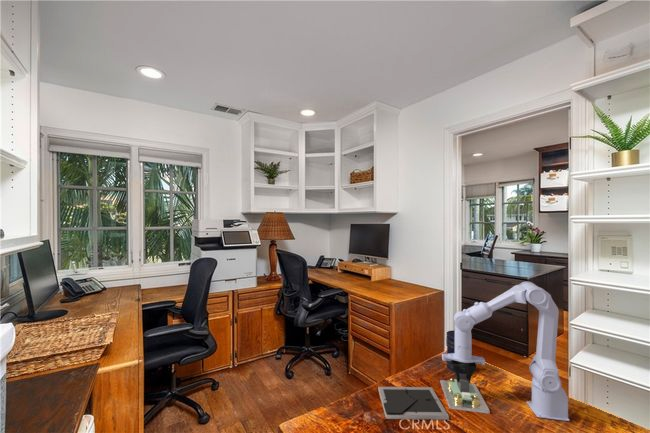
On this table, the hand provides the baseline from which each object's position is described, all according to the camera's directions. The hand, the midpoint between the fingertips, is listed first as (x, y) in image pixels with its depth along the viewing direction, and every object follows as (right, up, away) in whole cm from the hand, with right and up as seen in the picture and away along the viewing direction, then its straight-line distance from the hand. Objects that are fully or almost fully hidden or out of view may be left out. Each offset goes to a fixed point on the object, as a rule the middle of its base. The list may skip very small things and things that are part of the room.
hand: (462, 381), depth 106 cm
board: (0, -3, 0) cm, 3 cm away
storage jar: (+8, -6, +20) cm, 22 cm away
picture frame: (-21, -7, -4) cm, 22 cm away
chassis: (0, -6, 0) cm, 6 cm away
